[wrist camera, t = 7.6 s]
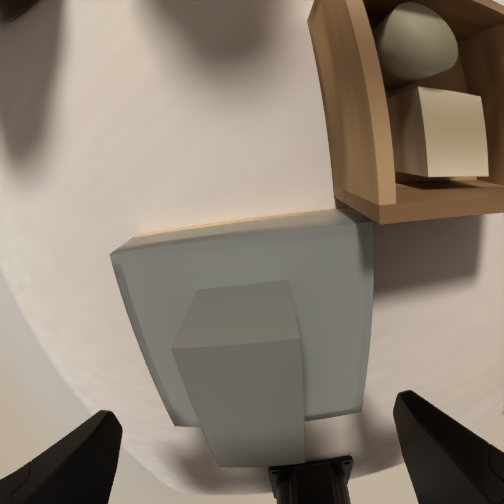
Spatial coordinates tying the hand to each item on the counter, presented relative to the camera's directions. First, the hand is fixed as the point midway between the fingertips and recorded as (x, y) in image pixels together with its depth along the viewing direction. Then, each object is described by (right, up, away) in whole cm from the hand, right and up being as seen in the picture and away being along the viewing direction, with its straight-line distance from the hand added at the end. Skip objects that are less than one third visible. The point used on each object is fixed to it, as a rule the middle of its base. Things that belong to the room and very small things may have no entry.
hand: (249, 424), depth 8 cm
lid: (0, +2, +6) cm, 6 cm away
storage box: (+7, +11, +3) cm, 14 cm away
